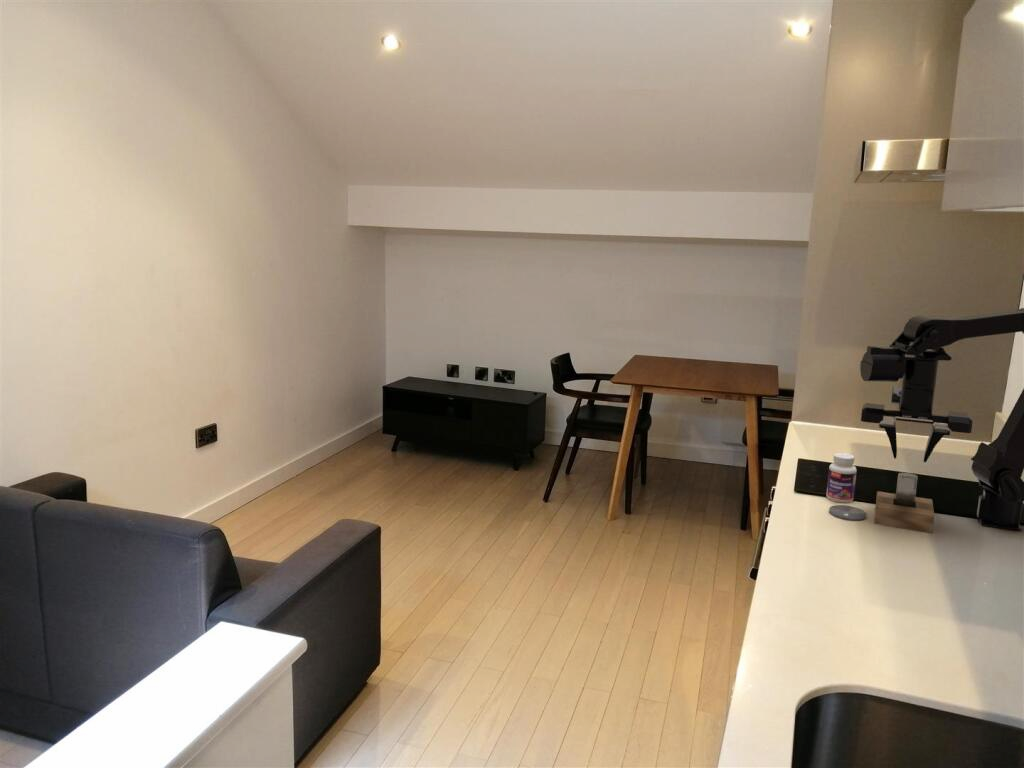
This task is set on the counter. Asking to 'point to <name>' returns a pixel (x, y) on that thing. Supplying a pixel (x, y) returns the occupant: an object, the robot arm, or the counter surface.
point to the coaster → (847, 512)
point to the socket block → (904, 513)
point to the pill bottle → (841, 478)
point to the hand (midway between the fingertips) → (909, 459)
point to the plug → (906, 489)
